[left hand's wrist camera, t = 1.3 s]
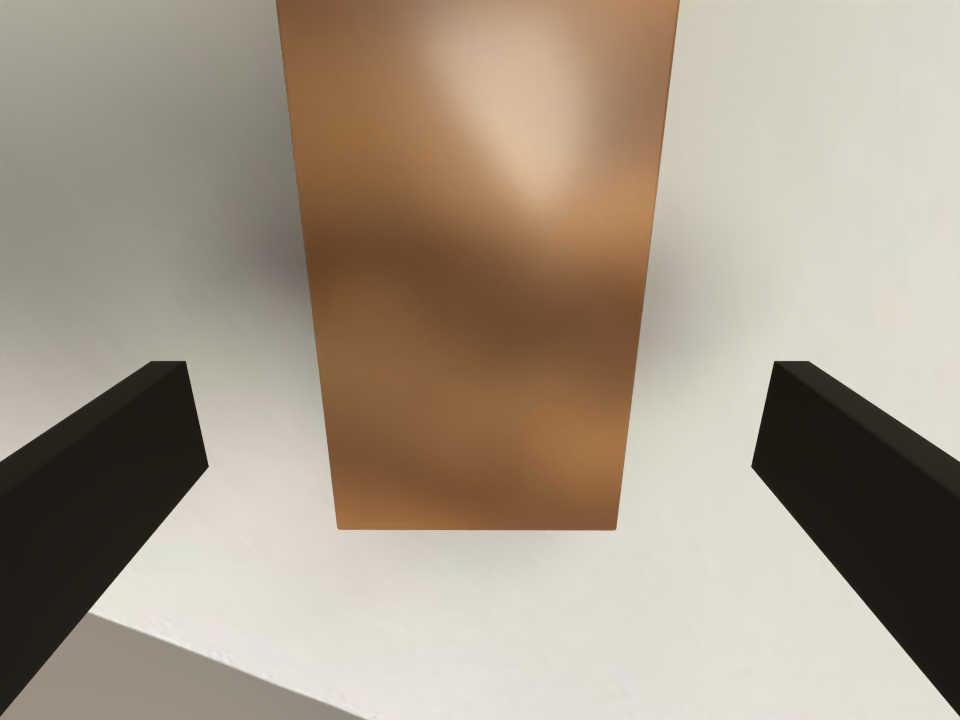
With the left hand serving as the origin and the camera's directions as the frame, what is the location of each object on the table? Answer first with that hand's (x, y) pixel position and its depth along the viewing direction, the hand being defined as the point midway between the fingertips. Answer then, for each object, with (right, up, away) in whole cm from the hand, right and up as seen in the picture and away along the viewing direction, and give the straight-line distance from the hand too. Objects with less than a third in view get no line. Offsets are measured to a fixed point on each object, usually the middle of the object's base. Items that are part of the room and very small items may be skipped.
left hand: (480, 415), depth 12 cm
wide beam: (0, +32, +1) cm, 32 cm away
